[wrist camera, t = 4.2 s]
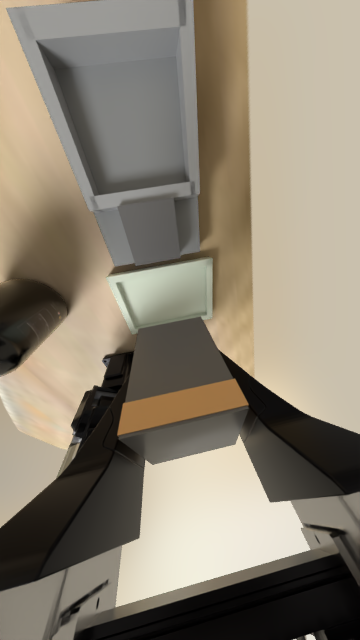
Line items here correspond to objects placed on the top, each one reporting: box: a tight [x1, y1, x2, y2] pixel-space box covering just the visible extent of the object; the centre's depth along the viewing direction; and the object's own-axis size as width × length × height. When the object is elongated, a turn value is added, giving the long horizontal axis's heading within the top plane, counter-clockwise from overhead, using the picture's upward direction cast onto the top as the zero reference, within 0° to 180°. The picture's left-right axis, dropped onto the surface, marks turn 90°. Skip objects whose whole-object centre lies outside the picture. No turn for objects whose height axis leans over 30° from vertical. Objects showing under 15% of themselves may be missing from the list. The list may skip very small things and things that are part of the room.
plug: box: [117, 317, 249, 465], centre depth 8 cm, size 5×5×6 cm
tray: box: [106, 257, 213, 334], centre depth 19 cm, size 9×13×1 cm
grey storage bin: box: [6, 0, 200, 266], centre depth 11 cm, size 12×10×4 cm
